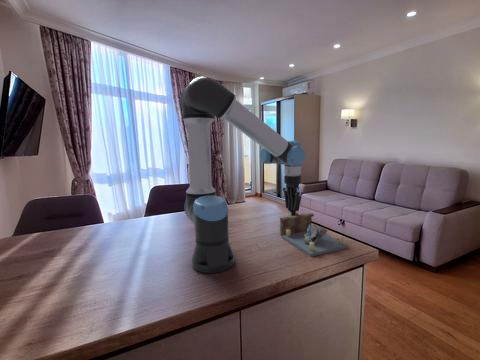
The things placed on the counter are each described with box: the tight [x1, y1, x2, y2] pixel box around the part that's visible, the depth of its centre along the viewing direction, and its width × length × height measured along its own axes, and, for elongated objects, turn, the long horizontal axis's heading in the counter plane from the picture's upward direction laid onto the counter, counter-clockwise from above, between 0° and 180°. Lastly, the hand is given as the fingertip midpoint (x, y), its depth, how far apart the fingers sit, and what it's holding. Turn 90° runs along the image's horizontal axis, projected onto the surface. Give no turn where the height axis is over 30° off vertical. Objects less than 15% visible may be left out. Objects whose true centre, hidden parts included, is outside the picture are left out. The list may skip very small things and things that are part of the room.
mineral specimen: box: [304, 223, 328, 244], centre depth 102 cm, size 10×8×10 cm
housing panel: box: [279, 212, 315, 237], centre depth 114 cm, size 16×3×8 cm, turn 112°
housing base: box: [281, 223, 349, 258], centre depth 104 cm, size 18×20×4 cm
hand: (292, 224), depth 118 cm, fingers closed
